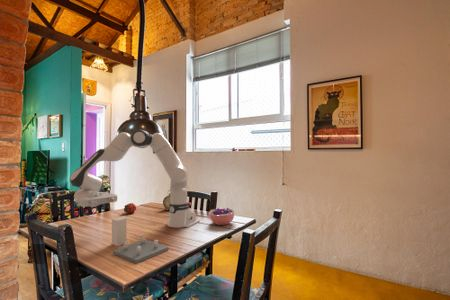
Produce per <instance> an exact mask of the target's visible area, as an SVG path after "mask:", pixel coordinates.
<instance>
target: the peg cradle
mask: <svg viewBox="0 0 450 300" xmlns="http://www.w3.org/2000/svg"><path fill="white" fill-rule="evenodd" d="M167 251H169V246H167V245H163V244H160V243H159V240H158V239H155V240H153V241H151V240H147V239H146V236H145V235H141V237H140V240H139V241H136V242H133V243H130V244H129V242H128V241H126V242H124V244H123V246H121V247H119V248H115V249H113V250H112V254H113V255H115V256H117V257H120V258H122V259H124V260H127V261H129V262H132V263H134V264H139V263H142V262H144V261H146V260H148V259H151V258H153V257H155V256H158V255H160V254H162V253H165V252H167Z"/></svg>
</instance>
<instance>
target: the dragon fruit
mask: <svg viewBox="0 0 450 300" xmlns="http://www.w3.org/2000/svg"><path fill="white" fill-rule="evenodd" d="M136 210H137V206H136V204H134V203H127V204H126V205H124V208H123V212H124V213H126V214H128V215H130V214H134V213H135V211H136Z"/></svg>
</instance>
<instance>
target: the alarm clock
mask: <svg viewBox="0 0 450 300" xmlns="http://www.w3.org/2000/svg"><path fill="white" fill-rule="evenodd" d="M168 192H170V189H169V190H168ZM169 204H170V193H168V195H166V196H165V197H164V198H163V201H162V205H163V207H164V211H166V210H170V209H169Z"/></svg>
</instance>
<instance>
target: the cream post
mask: <svg viewBox="0 0 450 300" xmlns="http://www.w3.org/2000/svg"><path fill="white" fill-rule="evenodd" d="M124 242H127V218H126V217H121V216H119V217H115V218H111V245H113V246H115V247H120V246H122V245H123V246H124Z"/></svg>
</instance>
